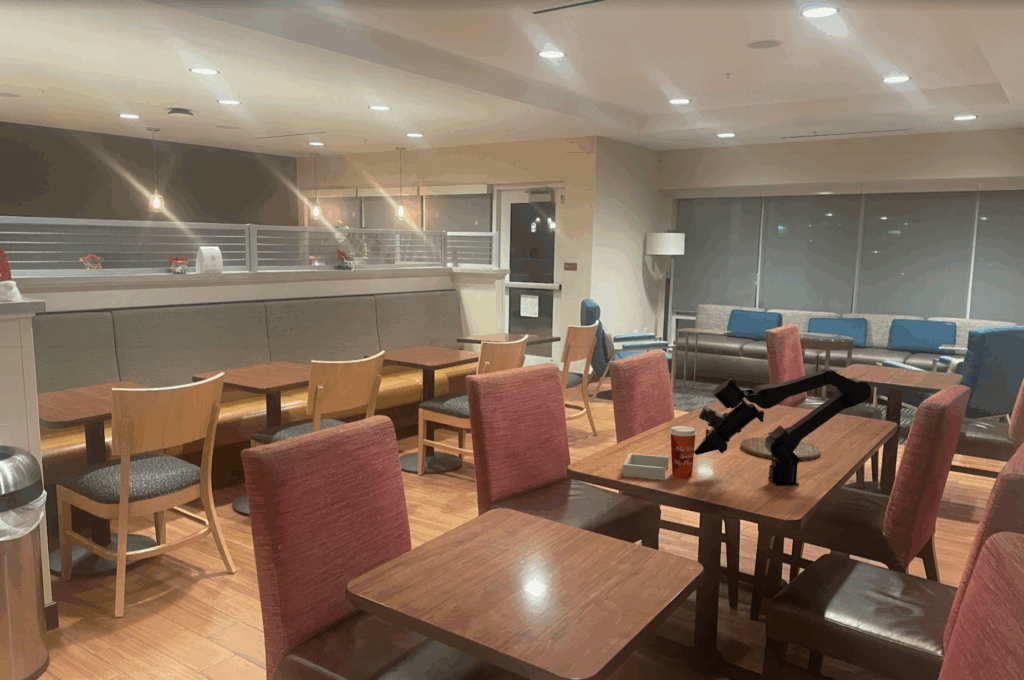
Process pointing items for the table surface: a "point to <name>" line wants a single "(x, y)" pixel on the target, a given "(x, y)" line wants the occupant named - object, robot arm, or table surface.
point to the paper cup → (682, 450)
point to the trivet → (758, 449)
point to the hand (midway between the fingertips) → (695, 453)
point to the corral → (645, 466)
